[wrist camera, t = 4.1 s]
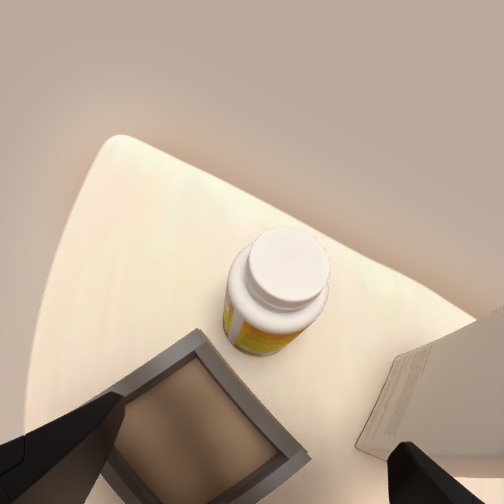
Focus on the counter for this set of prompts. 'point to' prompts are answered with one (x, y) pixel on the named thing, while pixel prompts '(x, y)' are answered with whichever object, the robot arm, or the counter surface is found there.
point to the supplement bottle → (275, 290)
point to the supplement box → (447, 402)
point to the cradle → (196, 433)
